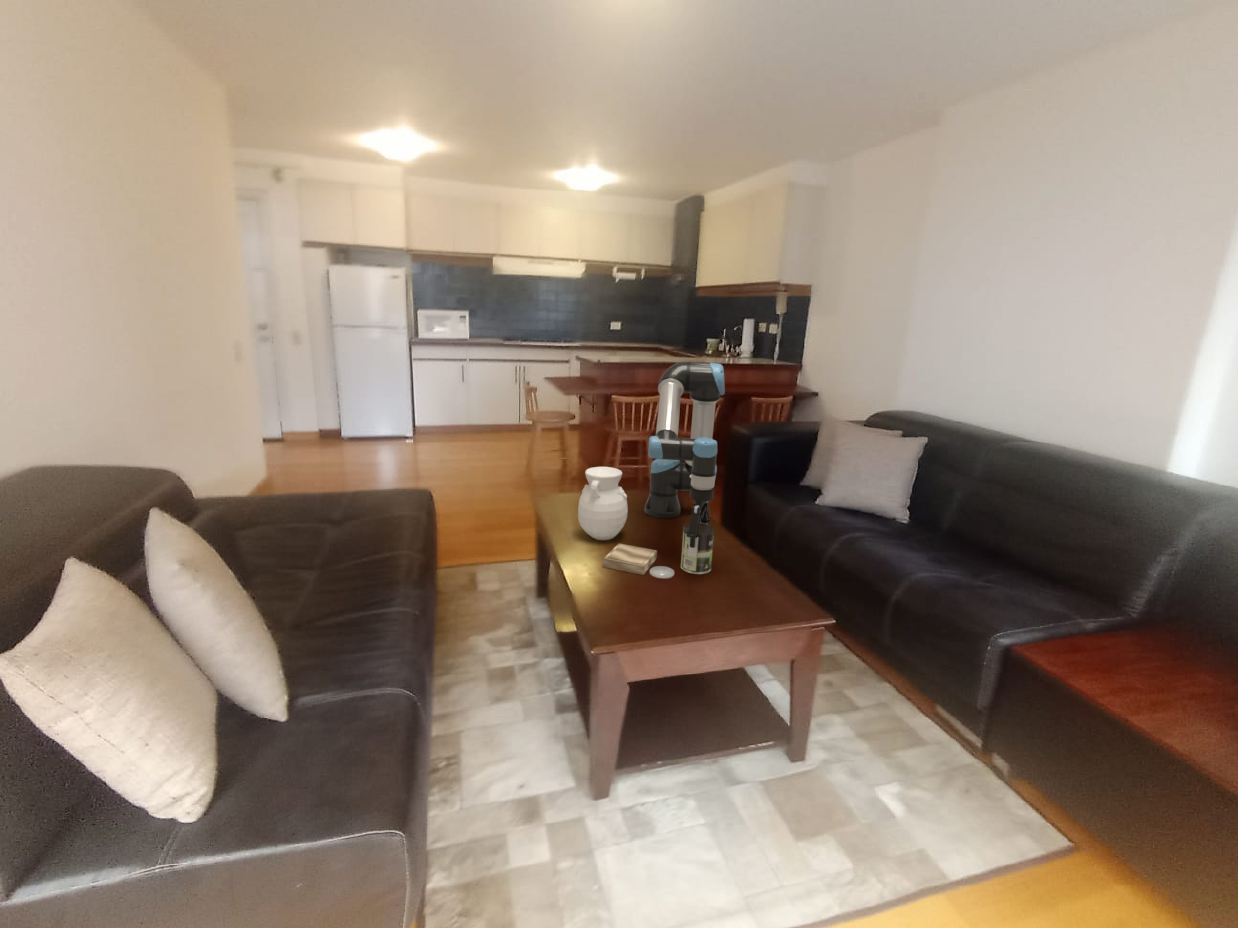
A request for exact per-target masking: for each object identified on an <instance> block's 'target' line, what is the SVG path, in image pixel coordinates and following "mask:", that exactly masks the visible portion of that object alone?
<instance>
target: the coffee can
mask: <svg viewBox="0 0 1238 928" xmlns="http://www.w3.org/2000/svg"><path fill="white" fill-rule="evenodd" d="M707 524H708V523H706V524H703V523H702V522H700V527H699V531H698V535H697V537H698V545H697V556H696V557H692V556H688V546H689V537H687V534H688V531H689V525H690V522H688V523H686V524H684V525H683V527H682V543H681V544H682V545H681V556H680V557H681V560H680V569H681V570H682V571H684V572H686V573H689V574H693V575H705V574H708V573H710V572H711V571H712V563H713V549H714V537H715V531H716V530H715V528H714V527H713V526H712V525H710V524H708V525H707ZM692 534H693V533H692Z"/></svg>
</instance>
